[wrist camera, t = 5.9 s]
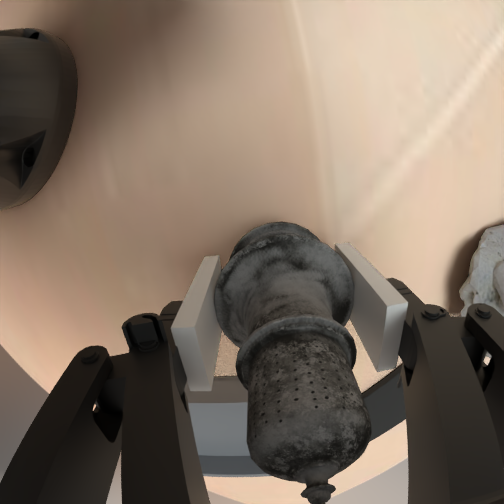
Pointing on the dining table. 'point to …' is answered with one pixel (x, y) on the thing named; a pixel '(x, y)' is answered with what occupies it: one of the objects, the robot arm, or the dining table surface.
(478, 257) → the coral
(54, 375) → the dining table surface
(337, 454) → the dark chess piece
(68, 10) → the dining table surface
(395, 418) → the phone
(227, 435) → the tray
